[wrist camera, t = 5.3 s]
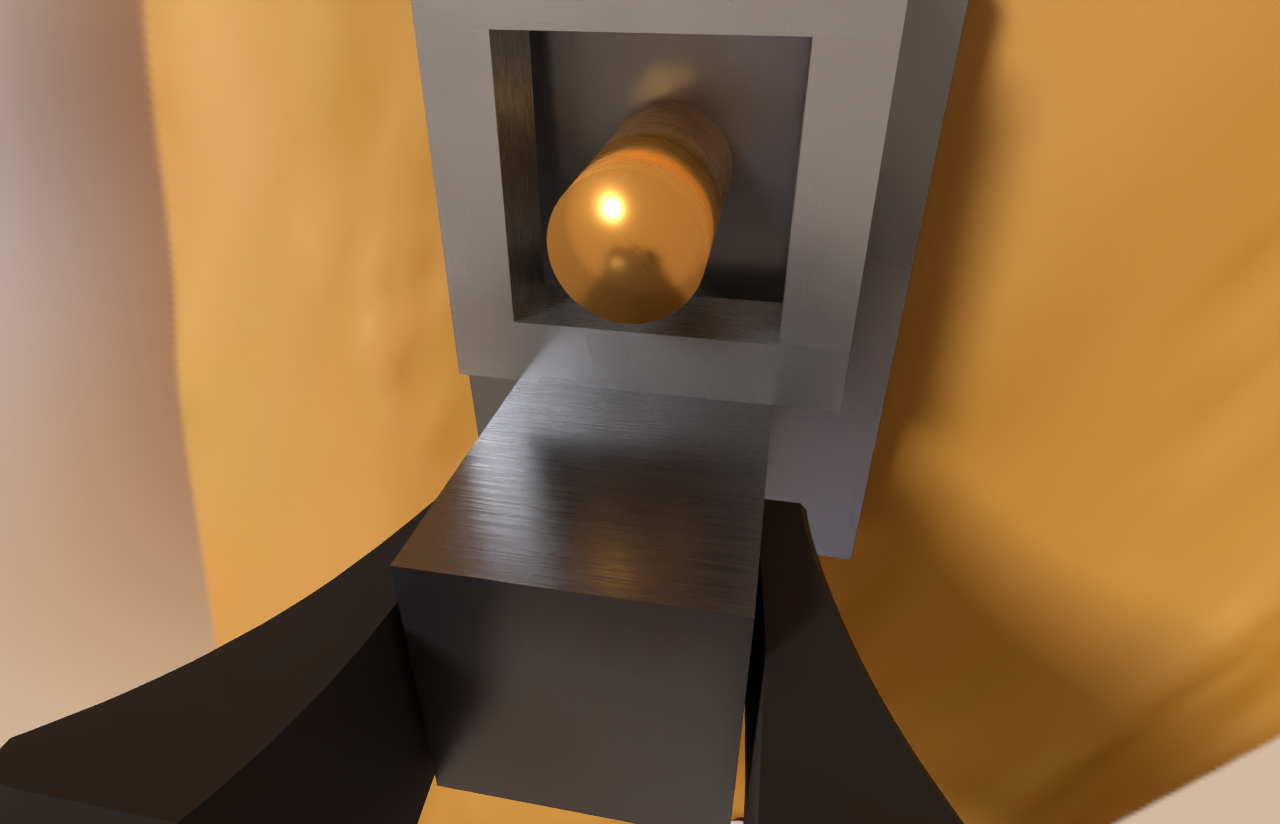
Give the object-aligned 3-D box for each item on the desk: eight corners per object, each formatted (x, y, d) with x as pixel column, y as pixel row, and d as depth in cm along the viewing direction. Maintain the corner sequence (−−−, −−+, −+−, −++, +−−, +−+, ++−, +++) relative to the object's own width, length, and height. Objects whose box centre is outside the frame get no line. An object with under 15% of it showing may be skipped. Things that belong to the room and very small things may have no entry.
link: (808, 547, 15) (806, 856, 10) (512, 509, 16) (369, 772, 11) (902, -60, 10) (1007, -84, 5) (454, -62, 11) (126, -83, 5)
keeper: (849, 527, 17) (857, 702, 13) (504, 485, 18) (426, 634, 14) (966, -54, 11) (1044, -27, 7) (430, -57, 12) (261, -36, 8)
